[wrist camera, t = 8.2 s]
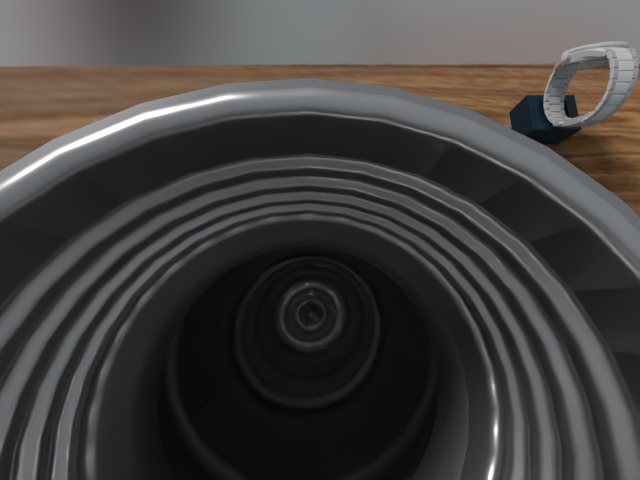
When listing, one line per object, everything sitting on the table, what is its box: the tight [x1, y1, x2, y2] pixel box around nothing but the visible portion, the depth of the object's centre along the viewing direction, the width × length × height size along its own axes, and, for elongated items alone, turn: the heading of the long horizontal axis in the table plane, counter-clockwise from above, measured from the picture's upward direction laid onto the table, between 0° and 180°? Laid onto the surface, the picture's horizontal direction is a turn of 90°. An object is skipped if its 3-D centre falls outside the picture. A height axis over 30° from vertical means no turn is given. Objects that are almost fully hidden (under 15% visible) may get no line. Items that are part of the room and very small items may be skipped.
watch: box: [509, 41, 639, 144], centre depth 31 cm, size 6×8×11 cm
